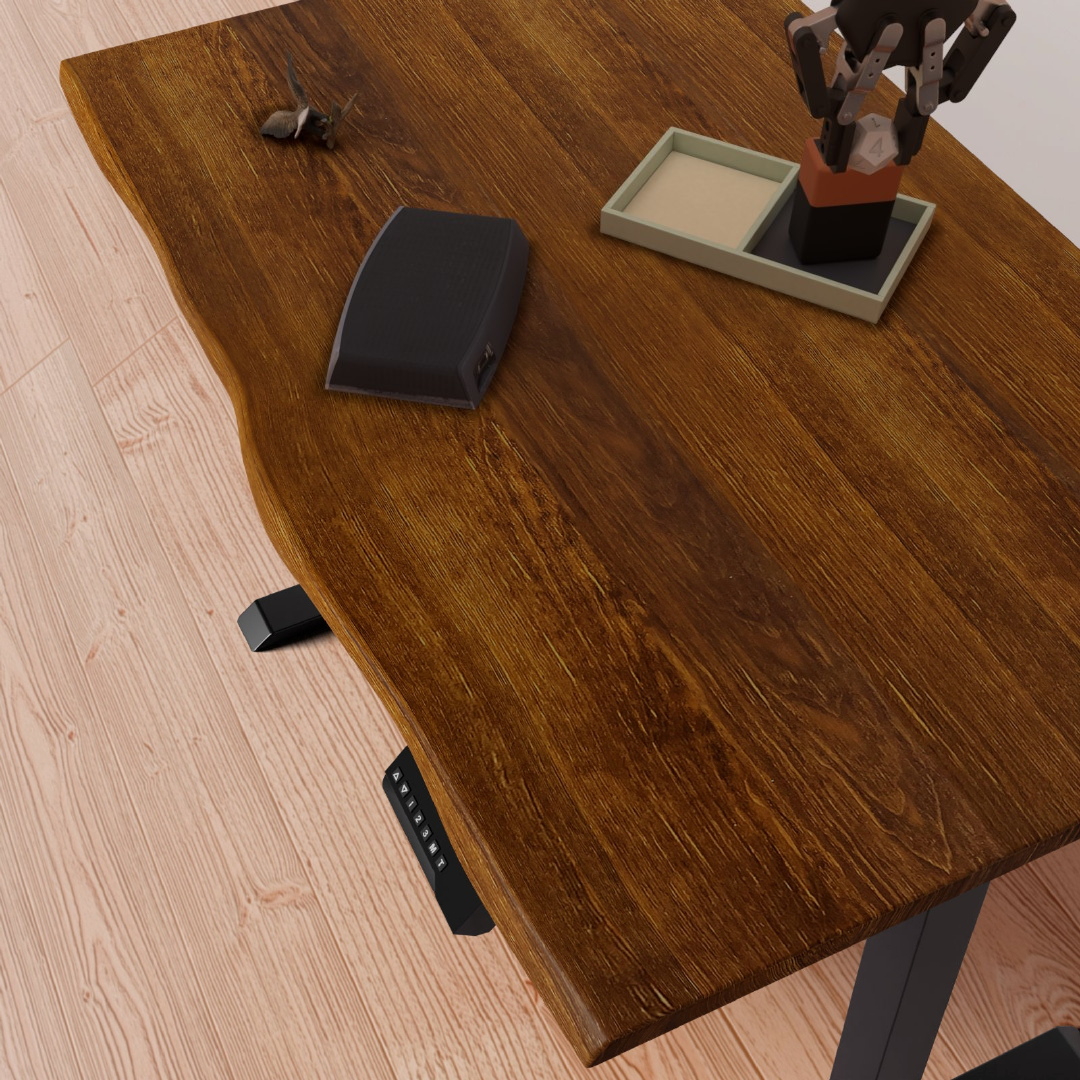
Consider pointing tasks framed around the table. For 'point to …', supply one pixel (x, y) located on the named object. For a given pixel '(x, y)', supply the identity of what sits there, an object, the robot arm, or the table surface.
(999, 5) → the robot arm
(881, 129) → the game die
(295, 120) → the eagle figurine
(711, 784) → the table surface
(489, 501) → the table surface
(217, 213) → the table surface
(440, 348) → the hard drive
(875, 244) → the battery
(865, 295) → the sorting tray
